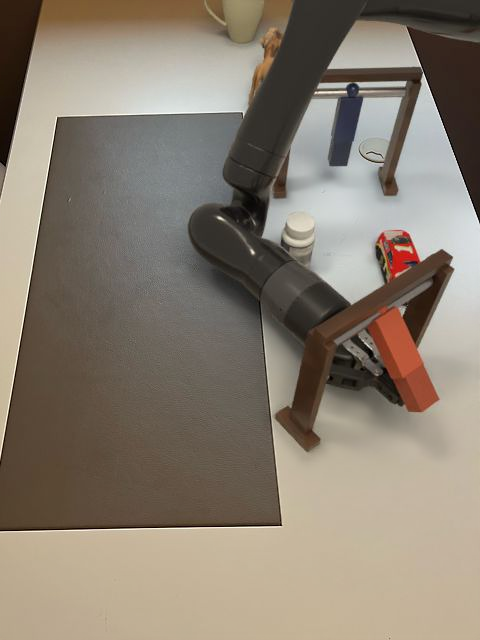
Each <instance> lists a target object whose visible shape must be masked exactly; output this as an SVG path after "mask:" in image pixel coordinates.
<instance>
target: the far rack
mask: <svg viewBox="0 0 480 640" xmlns="http://www.w3.org/2000/svg"><path fill="white" fill-rule="evenodd" d="M423 75H424V71H423V69H422V66H397V67H396V66H394V67H389V66H388V67H355V68H354V67H353V68H352V67H350V68H348V67H347V68H327V70H326V72H325V74H324V76H323V78H322V79H321V81H320V83H319V84H344V83H348V84H349V83H388V82H405V87H406V94H405V96H404V97H401V99H400V103H399V107H398V110H397V115H396V118H395V122H394V124H393V129H392V132H391V135H390V139H389V142H388V146H387V150H386V153H385V157H384V161H383V163H382V166H378V171H377V174H378V175H377V176H378V177H379V181H380V185H381V188H382V192H383V195H384V196H387V197H388V196H389V197H390V196H398V192H399V187H398V183H397V180H396V177H395V174H396V171H397V168H398V165H399V161H400V159H401V155H402V151H403V148H404V145H405V141H406V139H407V135H408V132H409V128H410V126H411V121H412V119H413V115H414V111H415V109H416V105H417V101H418V98H419V95H420V92H421V89H422V86H423V83H422V78H423ZM291 149H292V146H291V147H290V149H289V151H288V153H287V156H286V158H285V160H284V162H283V165H282V167H281V169H280V171H279V174H278V176H277V178H276V180H275V182H274V184H273V187H272V196H273V199H286V198H287V193H288V192H287V187H286V186H287V178H288V171H289V164H290V156H291Z"/></svg>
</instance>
